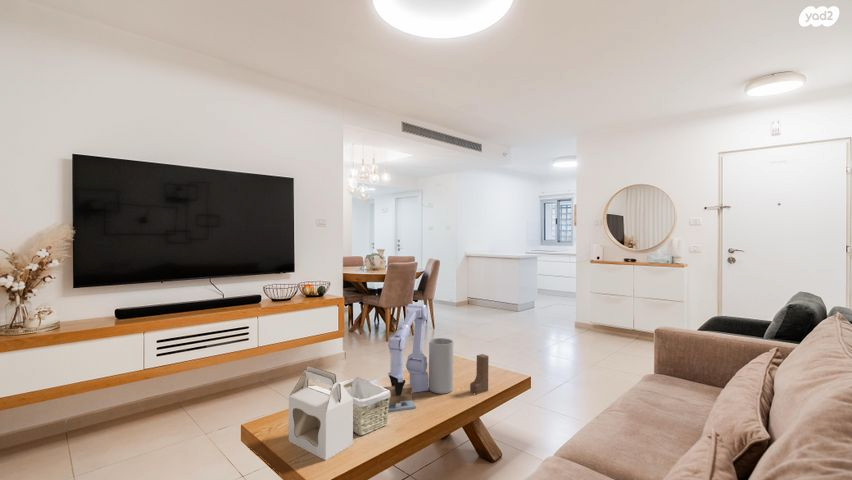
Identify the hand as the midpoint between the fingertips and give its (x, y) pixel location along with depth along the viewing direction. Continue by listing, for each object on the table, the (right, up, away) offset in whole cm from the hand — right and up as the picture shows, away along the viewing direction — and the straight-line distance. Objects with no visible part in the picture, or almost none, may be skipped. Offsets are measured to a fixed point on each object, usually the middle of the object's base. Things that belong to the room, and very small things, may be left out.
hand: (396, 392), depth 180 cm
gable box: (-27, -7, -32) cm, 42 cm away
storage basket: (-15, -7, -15) cm, 22 cm away
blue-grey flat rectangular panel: (0, -7, 0) cm, 7 cm away
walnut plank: (0, -4, 0) cm, 4 cm away
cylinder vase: (+21, -7, +21) cm, 31 cm away
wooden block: (+41, -7, +19) cm, 46 cm away
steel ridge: (0, -7, 0) cm, 7 cm away
